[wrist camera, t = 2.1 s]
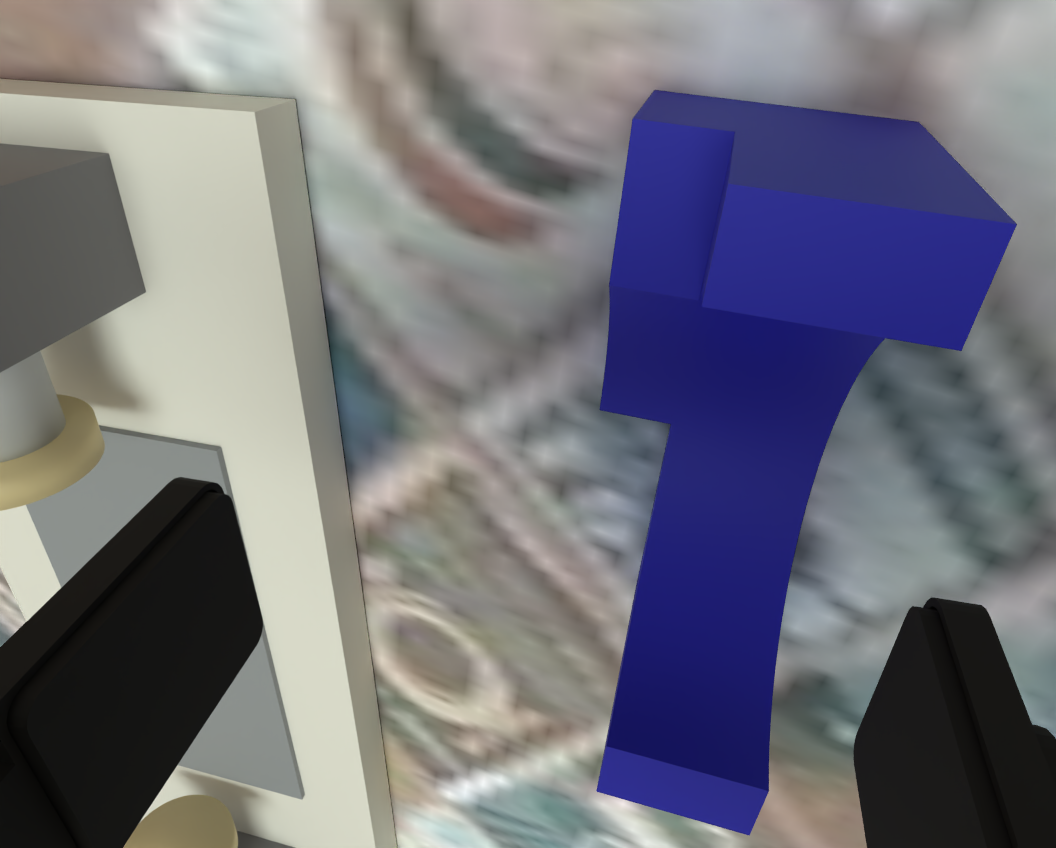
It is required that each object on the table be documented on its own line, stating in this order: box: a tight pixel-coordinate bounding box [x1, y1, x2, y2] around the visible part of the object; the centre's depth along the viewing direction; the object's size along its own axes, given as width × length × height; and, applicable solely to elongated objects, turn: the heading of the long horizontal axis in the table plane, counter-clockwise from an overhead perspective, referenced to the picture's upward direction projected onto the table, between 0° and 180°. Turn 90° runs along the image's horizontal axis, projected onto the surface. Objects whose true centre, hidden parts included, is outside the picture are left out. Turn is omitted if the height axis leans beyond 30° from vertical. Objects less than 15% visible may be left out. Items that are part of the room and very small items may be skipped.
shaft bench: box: [0, 79, 397, 848], centre depth 22 cm, size 12×31×6 cm, turn 179°
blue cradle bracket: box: [597, 90, 1017, 835], centre depth 14 cm, size 12×4×6 cm, turn 176°
